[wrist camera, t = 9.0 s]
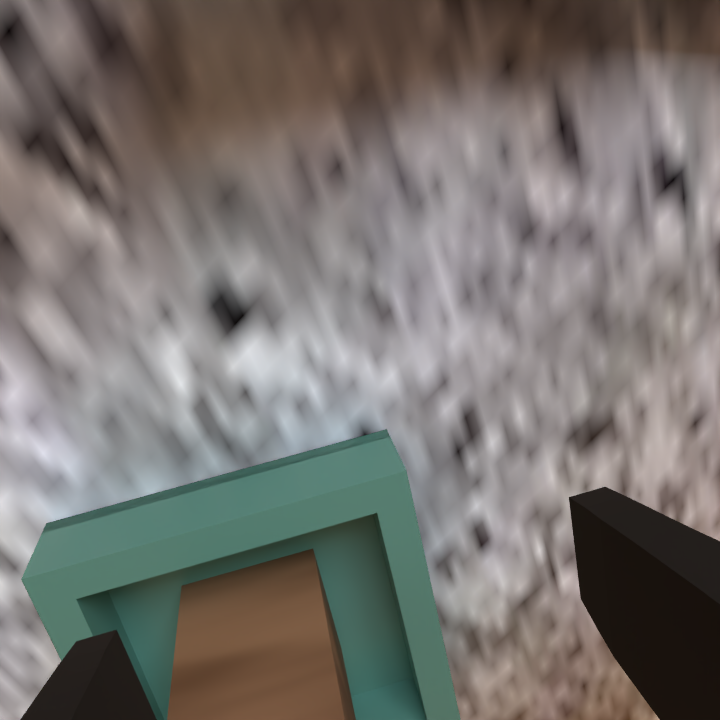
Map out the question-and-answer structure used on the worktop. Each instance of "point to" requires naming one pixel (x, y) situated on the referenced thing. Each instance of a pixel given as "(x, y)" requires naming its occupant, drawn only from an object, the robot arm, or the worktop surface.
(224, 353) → the worktop surface
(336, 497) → the teal well
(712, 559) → the robot arm
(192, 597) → the walnut post
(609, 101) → the worktop surface
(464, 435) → the worktop surface
